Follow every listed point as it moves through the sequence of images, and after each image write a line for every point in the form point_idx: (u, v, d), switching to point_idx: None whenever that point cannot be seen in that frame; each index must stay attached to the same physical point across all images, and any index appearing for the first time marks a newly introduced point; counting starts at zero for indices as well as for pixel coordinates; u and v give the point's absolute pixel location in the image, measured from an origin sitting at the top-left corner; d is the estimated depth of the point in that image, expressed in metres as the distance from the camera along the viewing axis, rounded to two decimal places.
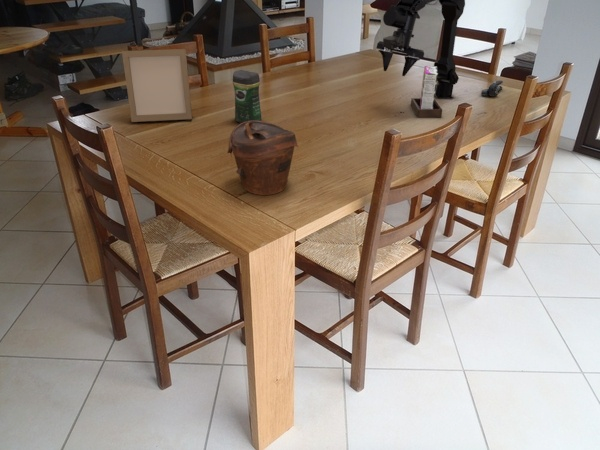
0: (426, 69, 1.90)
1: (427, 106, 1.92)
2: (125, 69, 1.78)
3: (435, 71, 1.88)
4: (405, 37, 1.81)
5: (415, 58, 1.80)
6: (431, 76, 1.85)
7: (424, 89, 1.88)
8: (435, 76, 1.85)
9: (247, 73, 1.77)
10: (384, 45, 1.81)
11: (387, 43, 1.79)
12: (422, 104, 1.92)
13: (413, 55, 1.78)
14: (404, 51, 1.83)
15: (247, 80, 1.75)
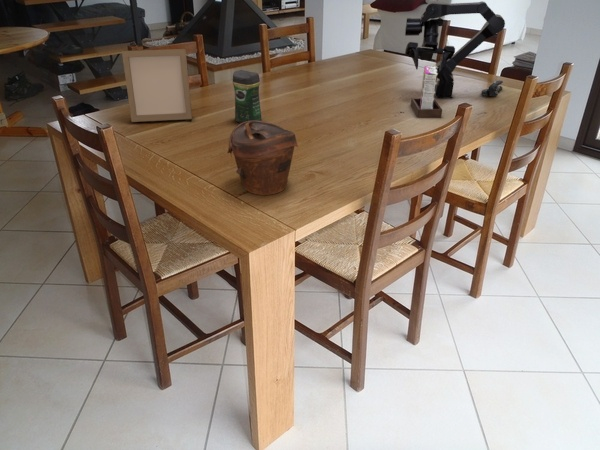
0: (426, 69, 1.90)
1: (427, 106, 1.92)
2: (125, 69, 1.78)
3: (435, 71, 1.88)
4: None
5: (409, 52, 2.01)
6: (431, 76, 1.85)
7: (424, 89, 1.88)
8: (435, 76, 1.85)
9: (247, 73, 1.77)
10: None
11: None
12: (422, 104, 1.92)
13: None
14: None
15: (247, 80, 1.75)
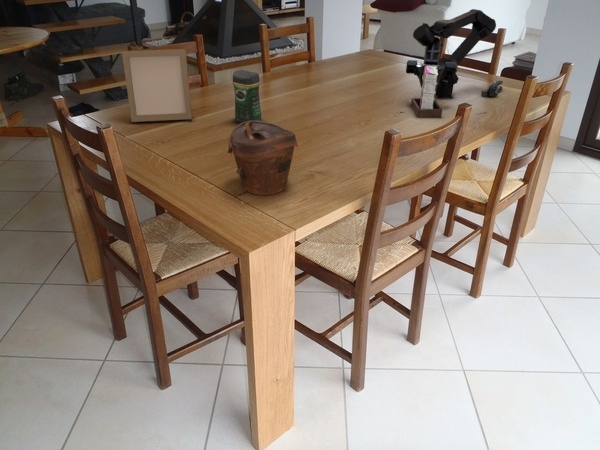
0: (426, 69, 1.90)
1: (427, 106, 1.92)
2: (125, 69, 1.78)
3: (435, 71, 1.88)
4: None
5: None
6: (432, 76, 1.85)
7: (424, 89, 1.88)
8: (436, 76, 1.85)
9: (247, 73, 1.77)
10: None
11: None
12: (422, 104, 1.92)
13: None
14: None
15: (247, 80, 1.75)
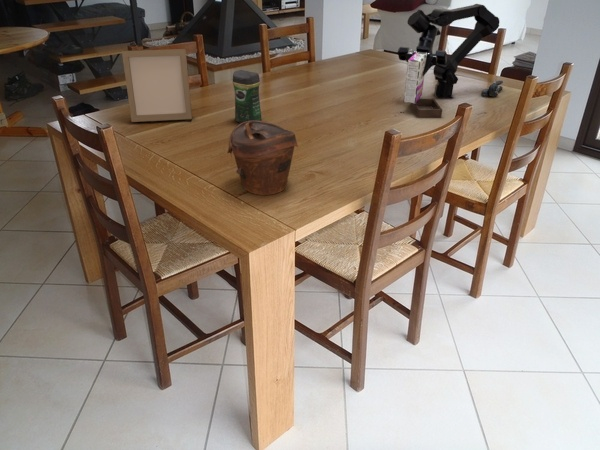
0: (413, 56, 1.90)
1: (410, 93, 1.92)
2: (125, 69, 1.78)
3: (420, 58, 1.87)
4: None
5: None
6: (414, 63, 1.85)
7: (407, 76, 1.89)
8: (418, 63, 1.85)
9: (247, 73, 1.77)
10: None
11: None
12: (405, 91, 1.92)
13: None
14: None
15: (247, 80, 1.75)
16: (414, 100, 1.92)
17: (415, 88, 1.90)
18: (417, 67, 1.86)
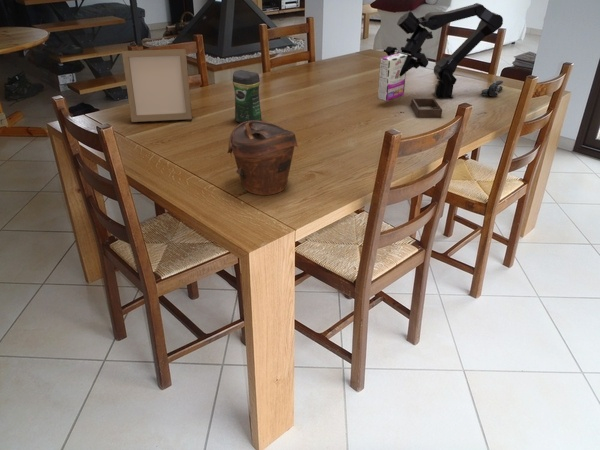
0: (391, 55, 1.97)
1: (382, 91, 1.99)
2: (125, 69, 1.78)
3: (394, 58, 1.94)
4: None
5: None
6: (385, 61, 1.93)
7: (380, 73, 1.97)
8: (387, 62, 1.92)
9: (247, 73, 1.77)
10: None
11: None
12: (379, 88, 2.00)
13: None
14: None
15: (247, 80, 1.75)
16: (385, 98, 1.99)
17: (386, 86, 1.97)
18: (387, 66, 1.93)
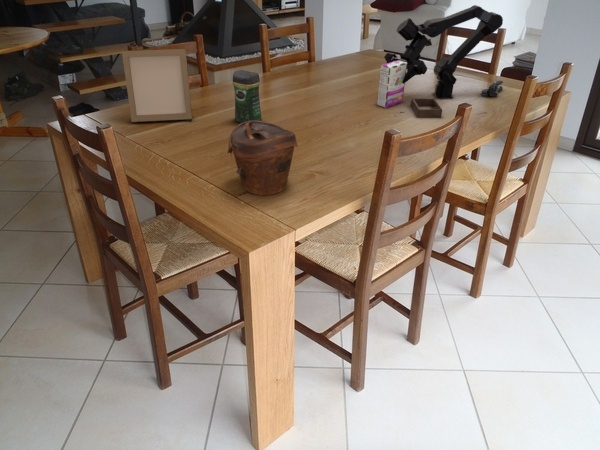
0: (391, 62, 1.98)
1: (382, 97, 2.01)
2: (125, 69, 1.78)
3: (394, 65, 1.95)
4: None
5: None
6: (385, 69, 1.94)
7: (380, 80, 1.98)
8: (388, 69, 1.93)
9: (247, 73, 1.77)
10: None
11: None
12: (378, 95, 2.02)
13: None
14: None
15: (247, 80, 1.75)
16: (385, 104, 2.01)
17: (386, 93, 1.98)
18: (387, 73, 1.94)
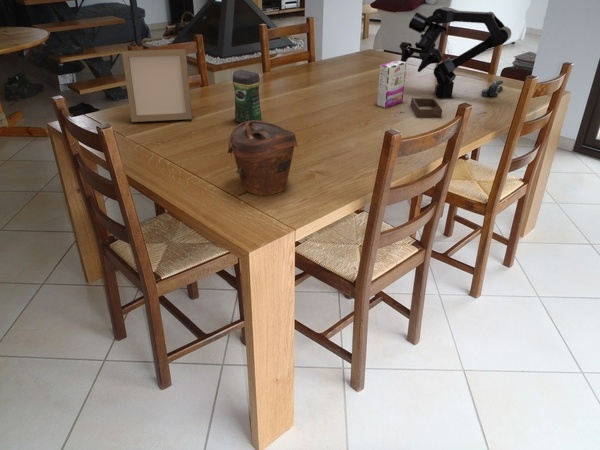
0: (390, 62, 1.98)
1: (382, 98, 2.01)
2: (125, 69, 1.78)
3: (393, 65, 1.95)
4: None
5: None
6: (384, 69, 1.95)
7: (379, 80, 1.98)
8: (387, 69, 1.94)
9: (247, 73, 1.77)
10: None
11: None
12: (378, 95, 2.02)
13: None
14: None
15: (247, 80, 1.75)
16: (385, 104, 2.01)
17: (385, 93, 1.98)
18: (386, 73, 1.94)
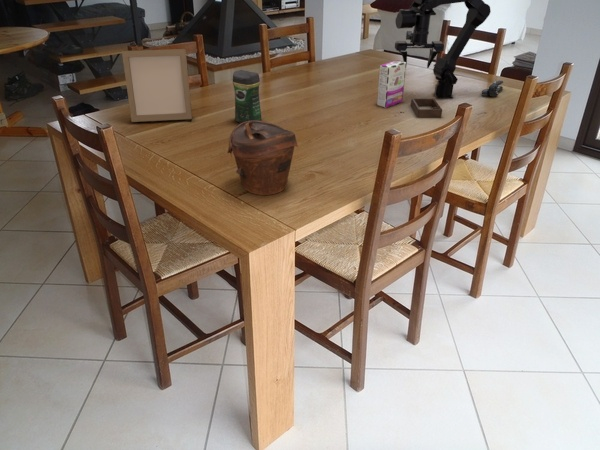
0: (390, 62, 1.99)
1: (382, 98, 2.01)
2: (125, 69, 1.78)
3: (393, 65, 1.95)
4: None
5: None
6: (384, 68, 1.95)
7: (379, 80, 1.98)
8: (387, 69, 1.94)
9: (247, 73, 1.77)
10: None
11: None
12: (378, 95, 2.02)
13: None
14: None
15: (247, 80, 1.75)
16: (385, 104, 2.01)
17: (385, 93, 1.99)
18: (386, 72, 1.94)
